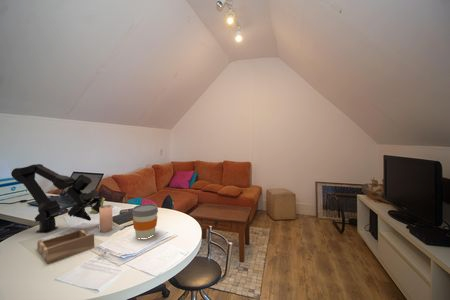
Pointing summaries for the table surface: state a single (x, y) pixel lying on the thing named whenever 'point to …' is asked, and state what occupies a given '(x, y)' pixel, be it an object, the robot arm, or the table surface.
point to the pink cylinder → (105, 218)
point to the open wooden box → (65, 245)
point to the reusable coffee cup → (145, 220)
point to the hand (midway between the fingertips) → (96, 216)
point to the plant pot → (101, 205)
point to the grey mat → (107, 234)
